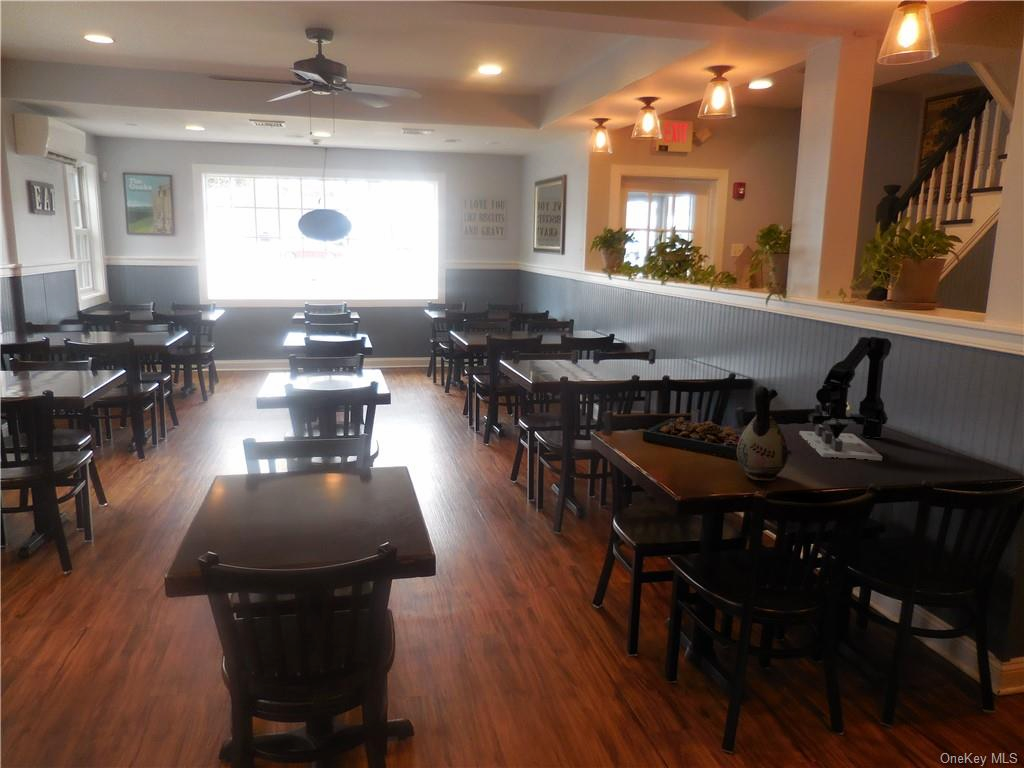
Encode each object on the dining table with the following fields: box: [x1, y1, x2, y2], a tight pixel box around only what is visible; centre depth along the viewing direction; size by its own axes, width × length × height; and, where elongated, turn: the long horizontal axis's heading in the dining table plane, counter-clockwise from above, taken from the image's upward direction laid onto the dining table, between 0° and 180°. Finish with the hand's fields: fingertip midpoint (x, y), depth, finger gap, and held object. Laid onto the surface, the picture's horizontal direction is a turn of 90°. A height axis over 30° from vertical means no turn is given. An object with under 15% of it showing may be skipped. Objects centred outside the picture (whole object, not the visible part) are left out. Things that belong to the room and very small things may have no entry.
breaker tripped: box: [822, 430, 833, 443], centre depth 267 cm, size 2×4×4 cm, turn 173°
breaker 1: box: [814, 424, 826, 436], centre depth 276 cm, size 2×4×4 cm, turn 173°
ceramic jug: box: [737, 385, 789, 482], centre depth 226 cm, size 17×15×30 cm
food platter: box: [642, 416, 744, 460], centre depth 264 cm, size 45×25×10 cm, turn 54°
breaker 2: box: [831, 438, 843, 451], centre depth 257 cm, size 2×4×4 cm, turn 173°
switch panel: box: [799, 430, 883, 462], centre depth 267 cm, size 20×30×2 cm, turn 173°
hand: (835, 441), depth 267 cm, fingers closed
